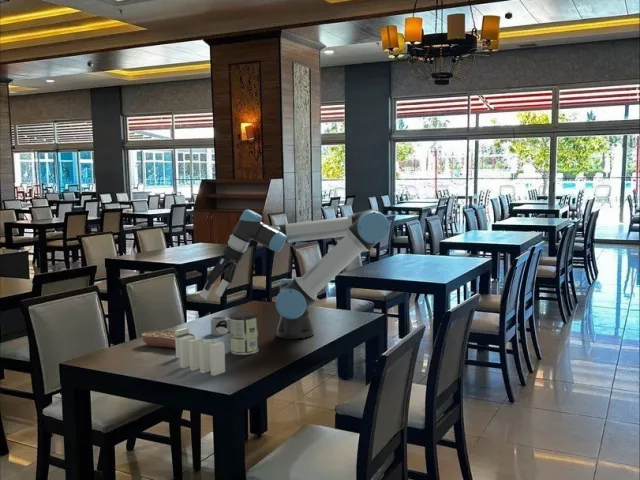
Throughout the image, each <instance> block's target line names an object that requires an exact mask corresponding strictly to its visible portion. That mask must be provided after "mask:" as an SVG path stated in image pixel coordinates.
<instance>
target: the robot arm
mask: <svg viewBox="0 0 640 480" xmlns="http://www.w3.org/2000/svg"><path fill="white" fill-rule="evenodd" d="M262 220H263V216H262V215H260V214H259V213H258V212H255V211H253V210H251V209H245V210H244V211H243V212H242V214H241V215H240V218H239V219H238V221H237V222H236V225H235V227H234V229H233V231H232V233H231V234H230V235H229V239H228V241H227V243H228V244H226V245H225V247H224V249H223V251H222V253H223V255H224V258H222V257H220V258H219V259H218V261H217V262H216V264H215V265H214V267H213V268H212V269H211V271H210V272H209V273H208V275H207V276H206V278H205V280H206V283H205V285H204V287H203V289H202V290H201V293H200V295H199V296H200V297H201V298H203V299H205V300H207V299H208V298H209V296H210V294H211V291H212V289H213V287H214V285H215V283H216V281H217V280H218V279H219V278H220V277H221V276H222V274H223V273H224V275H223V276H224V277H223V279H222V280H221V281H220V283H219V286H218V287H217V290H215V293H214V294H215V295H216V296H218V297H223V294H224V293H225V291H226V289H227V286H228V285H229V283H230V284H232V282H233V280H234V276H235V273H236V271H237V270H236V269H237V266H238V264H239V262H241V260H242V258H243V257H244V254H245V253H244V252H246V251H247V249H248V247H249V245H250V243H251V240H252V241H254V242H257V243H259V244H260V245H262V246H264V247H266V248H267V249H269V250H271V251H274V252H275V253H281V251H282V249H283V247H284V245H285V244H288V243H296V242H306V241H314V240H315V241H316V240H324V239H333V238H339V237H341V240H340V241H339V242H337V243H336V244H335V246H333V247H332V248H331V249H330V250H329V251H328V252H327V253H326V254H325V255H324V256H322V257H321V258H320V259H319V260H318V261H317V262H316V263H315V264H314V265H313V266H312V267H311V268H310V269H308V271H306V272H305V273H304V274H303V276H299V277H297V276H296V277H294V278H286V279H284V278H283V279H280V281H279V285H278V286H279V293H277V296H276V297H275V308H276V310H277V312H278V313H279V315H280V318H279V322H278V326H277V329H276V336H277V337H278V338H280V339H286V340H299V339H298V338H302V339H306V338H305V337H308V338H310V337H309V336H311V337H313V336H314V335H315V328H314V326H313V323H312V320H311V317H310V306H311V305H312V304H313V303H314V302H315V301H316V300H317V295H318V293H319V292H320V291H322V289H324V287H326V286H327V285H328V284H329V283H330V282H331V281H333V280H334V278H335V277H337V276H338V275H339V273H341V272H342V271H343V270H344V269H346V267H347V266H348V265H349V264H351V262H353V261H354V260H355V259H356V258H357V257H358V256H359V255H360V254H361V253H362V252H370V250H371V249H373V247H375V246H376V245H377V244H378V243H380V242H382V241H383V240H385V238H387V236H388V234H389V231H390V222H389V219H388V217H387V216H386V215H385V214H383V213H382V212H381V211H379V210H377V209H373V208H372V209H367V210H364V211H359V212H354V213H349V215H348V216H344V217H343V216H342V217H334V218H326V219H315V220H310V221H309V220H308V221H301V222H292V223H285V224H272V225H267V224H265V223H264V222H262ZM342 237H343V238H342ZM313 334H314V335H313ZM312 335H313V336H312Z"/></svg>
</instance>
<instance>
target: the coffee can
mask: <svg viewBox="0 0 640 480" xmlns="http://www.w3.org/2000/svg"><path fill="white" fill-rule="evenodd" d="M228 316H229V318H230V321H229V327H230V330H229V333H230V348H231V349H230V352H231V354H233V355H239V356H245V355H246V356H247V355H252V354H256V353H258V352H259V331H258V313H257V312H255V311H252V310H251V311H249V310H248V311H247V310H242V311H235V312H232V313H230V314H229V315H228Z"/></svg>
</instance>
